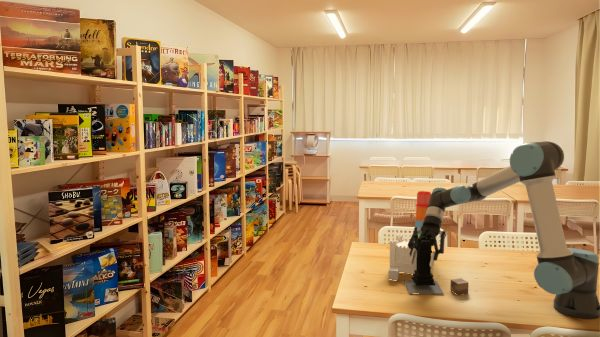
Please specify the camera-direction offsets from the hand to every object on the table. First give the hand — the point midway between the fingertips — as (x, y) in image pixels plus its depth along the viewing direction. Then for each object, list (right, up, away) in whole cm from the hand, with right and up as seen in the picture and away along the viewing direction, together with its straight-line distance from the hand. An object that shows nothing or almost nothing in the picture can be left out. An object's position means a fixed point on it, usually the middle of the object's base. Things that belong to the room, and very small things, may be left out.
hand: (420, 264), depth 185 cm
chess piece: (+2, -8, +4) cm, 9 cm away
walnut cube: (+16, -11, -1) cm, 19 cm away
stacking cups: (+12, -6, +41) cm, 43 cm away
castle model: (+1, -8, +27) cm, 28 cm away
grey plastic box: (-8, -10, +15) cm, 20 cm away
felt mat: (+2, -11, +4) cm, 12 cm away
